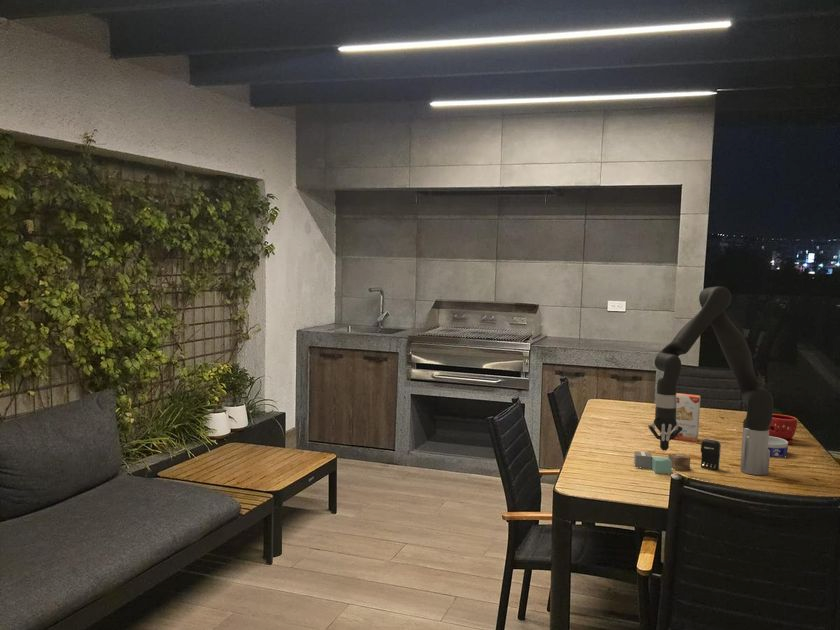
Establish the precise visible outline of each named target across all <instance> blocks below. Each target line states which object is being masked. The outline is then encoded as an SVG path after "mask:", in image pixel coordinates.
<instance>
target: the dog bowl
mask: <svg viewBox="0 0 840 630" xmlns="http://www.w3.org/2000/svg"><path fill="white" fill-rule="evenodd" d="M788 448H789V444H788V441H786V440H784V439H781V438H777V437H772V436H769V441H768V449H769V450H770V458H773V457H782V458H785V456H786V457H787V456H788V450H789V449H788Z"/></svg>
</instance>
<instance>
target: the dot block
mask: <svg viewBox="0 0 840 630" xmlns="http://www.w3.org/2000/svg"><path fill="white" fill-rule="evenodd" d="M668 458H669V459H670V460H671V461H672V467H671V469H672V468H673V470H674V469H675V470H674V471H690V470H691V457H690V456H688V455H686V454H684V453H668Z"/></svg>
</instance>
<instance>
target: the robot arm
mask: <svg viewBox="0 0 840 630" xmlns="http://www.w3.org/2000/svg"><path fill="white" fill-rule="evenodd" d="M698 301H699V305H700V307H701V309H700V310H699V311H698V312H697V313H696V315H694V317H692V318H691V319H690V320H689V321H688V322H687V323H685V325H683V326H682V328H681V329H679V331H678V332H677V334H676V335H675V337H673V339H672V341H671V342H670V343H668V344H667V345H665V346H664V348H661V350H660V351H659V352H658V353H657V354H656V356H655V359H654V366H655V368H656V369H657V370H659V371H662V372H663V376H662V377H660V378H658V380H657V382H656V383H657V384H656V398H655V413H654V414H655V416H654V420H653V423H651V424H648V426H647V428H648V429H649V431H650V432H651V433H652V434H653V436H654V437H655V439H657V440H659V441H660V443H659V448H660V449H661V451H663V452H664V451H666V452H667V450H669V445H670V441H671V440H672V441H673V440H675V439H674V438H675V437H676V436H677V435H678V434H679V433H680V432H681V430H682V427H680V426H679V425H677V422H676V406H677V399H676V393H677V384H678V382H679V377H680V375H681V372H682V360H681V358H680V357H679V356H682V355H686V354H687V353H688V352H690V350H691V348H692V347H693V346H694V345H695V344H696V342H697V341H698V339H699V338H700V337H701V335H702V334H703V333H704V331H705V330H706V329H707V328H708V327H709V326H710V325H711V326H712V329H713V332H714V333H715V334H714V335H715V336H716V338H717V341H718V343H719V345H720V349H721V351H722V353H723V355H724V356H723V357H725V360H726V361H727V365H728V366H729V368H730V371H731V373H733V375H734V378H735V381H736V382H737V385H738V389H739V392H740V396H741V399H742V402H743V403H744V405H745V406H746V409H747V410H746V415H745V416H746V417H745V419H743V421H742V436H741V437H742V438H741V452H740V453H741V454H740V455H741V456H740V466H739V467H740V468H739V470H740V471H741V472H742V473H745V474H748V475H754V476H764V475H769V474H770V473H769V471H770V459H771V457H770V450H769V449H768V441H769V427H770V424H771V421H772V414H774V413H773V411H774V397H773V394H772V393H771V392H770V391H769V390H767V389H765V388H764V387H763V386H762V385H761V383H760V381H759V379H758V377H757V374H756V373H755V369H754V364H753V357H752V352H751V349H750V347H749V344H748V342H747V340H746V338H745V336H744V335H743V333H742V332H741V331H740V330H739V329H738V327H736V325H734V323H733V322H732V321H731V319H730V318H729V316H728V314H727V312H726V309H727V308H728V307H729V305H730V304H731V301H732V294H731V291H730V290H729V289H728V288H727V287H725V286H718V285H717V286H710V287H706V288H704V289H702V290H701V291H700V293H699V297H698ZM674 427H675V430H674V431H673V432H672V433H671V431H672V430H673V429H674ZM656 429H657V430H658V432H657V431H656ZM658 433H659V434H658ZM670 433H671V435H670Z"/></svg>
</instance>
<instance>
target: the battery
mask: <svg viewBox="0 0 840 630" xmlns="http://www.w3.org/2000/svg"><path fill="white" fill-rule="evenodd" d="M721 449H722V443H721V442H720V441H719V440H717V439H712V438H711V439H710V438H705V439H703V440H702V441H701V443H700V453H701V460H700V467H701V468H703V469H708V470H713V471H717V470H720V461H721V452H722V450H721Z"/></svg>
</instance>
